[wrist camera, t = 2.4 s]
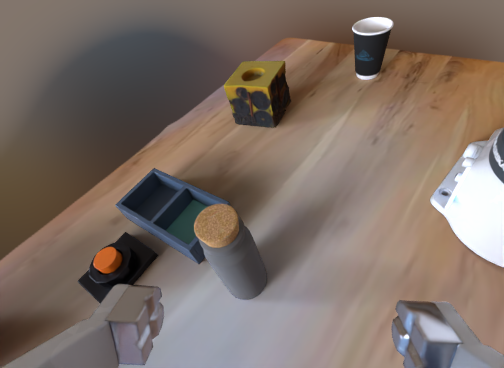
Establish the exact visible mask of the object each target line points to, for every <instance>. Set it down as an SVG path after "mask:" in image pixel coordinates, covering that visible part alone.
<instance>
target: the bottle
mask: <svg viewBox="0 0 504 368" xmlns="http://www.w3.org/2000/svg"><path fill="white" fill-rule="evenodd" d="M194 231H195V234H196V236H197V237H198V238H199V242H200V244H201V246H202V248H203V251H204V255H205V257H206V259H207V261H208V262H209V264H210V265H211V266H212V268H213V269H214V271H215V272H216V274H217V275H218V276H219V278H220V279H221V280H222V282H223V283H224V285H225V286H226V287H227V289H228V290H229V291H230V292H231V294H232V295H234V296H235V297H236V298H239V299H244V300H247V299H252V298H254V297H256V296H257V295H259V294H260V293H261V292H262V291H263V289H264V287H265V285H266V281H267V274H266V270H265V268H264V265H263V262H262V260H261V257H260V255H259V252H258V250H257V247H256V244H255V242H254V240H253V237H252V235H251V233H250V231H249V230H248V228H247V227H246V226H244V224H243V221H242V220H241V218H240V217H239V216H238V215H237V212H236V211H235V209H234V208H233V207H231V206H229V205H227V204H214V205H211V206H209V207H207V208H205V209H204V210H203V211H202V212H201V213H200V214H199V215H198V216H197V218H196V220H195V223H194Z"/></svg>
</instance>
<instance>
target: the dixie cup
mask: <svg viewBox="0 0 504 368" xmlns="http://www.w3.org/2000/svg"><path fill="white" fill-rule="evenodd" d="M393 25H394V23H393V21H392V20H390V19H388V18H384V17H371V18H366V19H363V20H360V21H358V22H356V23H355V24H354V25H353V27H352V29H353V31H354V50H355V71H356V74H357V77H358V78H360V79H363V80H370V79H373V78H375V77H377V76H378V73H379V72H380V69H381V65H382V62H383V58H384V54H385V50H386V46H387V43H388V39H389V35H390V31H391V28H392V27H393Z"/></svg>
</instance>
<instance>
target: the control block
mask: <svg viewBox="0 0 504 368" xmlns="http://www.w3.org/2000/svg"><path fill="white" fill-rule="evenodd" d="M106 247H113V248H115V249H116V250H117V251H118V252H120V253H121V254H122V258H123V259H122V263H121V265H120V266H119V267H118V268H117V269H116V270H115V271H114V272H112V273H109V274H104V273H102V272H101V271H99V270H98V269H96V268H95V267H94V264H93V262H94V258H95V256H96V255H97V254H98V253H99V252H100V251H101V250H102V249H104V248H106ZM106 247H104V248H102V249H101V250H100V251H99V252H98V253H97V254H96V255H95V256H94V258H93V260H92V262H91V265H90V267H89V270H88V271H87V272H86V273H85V274H84V275H83V276H82V277H81V278H80V279H79V280H78V283H79V284H81V285H82V286H83V287H84V288H85V289H86V290H87V291H88V292H89V293H90V294H91V295H92V296H93V297H94V298H95V299H96V300H97V301H98V302H99V303H100V304H101V302H102V301H103V300H104V298H105V297H106V296H107V294H108V293H109V292H110V291H111V289H112V288H113V287H114V286H115V285H117V284H125V285H133V284H134V283H135V282H136V281H137V279H138V278H139V277H140V276H141V275H142V274H143V272H144V271H145V270H146V269H147V268H148V267H149V266H150V264H151V263H152V262H153V261H154V260H155V259H156V257H157V256H158V254H157V253H156V252H155V251H153V250H152V249H150V248H149V247H147V246H146V245H144V244H143V243H141V242H140V241H138V240H137V239H135V238H134V237H132V236H131V235H130V234H128V233H127V232H125V233H124V234H123V235H122V236H121V237H120V238H119V239H118V240H117V241H116V242H115V243H112V244H110V245H108V246H106Z"/></svg>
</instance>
